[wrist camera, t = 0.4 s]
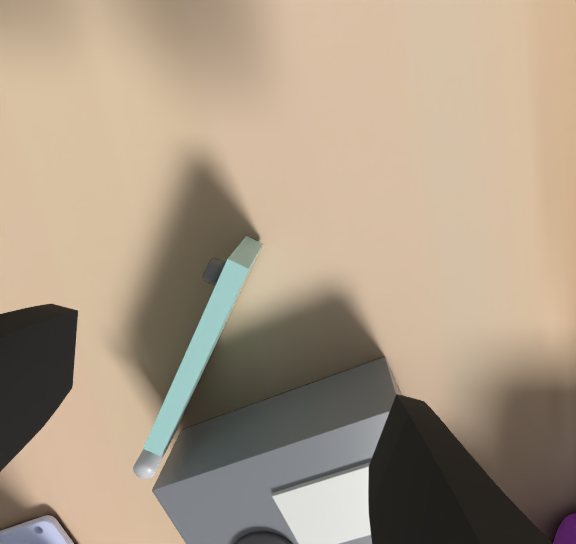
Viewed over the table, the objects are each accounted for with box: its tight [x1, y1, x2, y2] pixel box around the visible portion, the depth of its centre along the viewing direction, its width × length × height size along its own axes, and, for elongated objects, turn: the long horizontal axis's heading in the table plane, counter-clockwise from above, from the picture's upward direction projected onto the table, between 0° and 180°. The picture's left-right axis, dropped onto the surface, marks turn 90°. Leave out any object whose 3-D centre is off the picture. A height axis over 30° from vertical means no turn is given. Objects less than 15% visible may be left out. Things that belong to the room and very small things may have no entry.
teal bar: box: [133, 236, 263, 479], centre depth 18 cm, size 10×2×4 cm, turn 155°
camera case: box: [152, 357, 402, 544], centre depth 20 cm, size 11×8×4 cm
